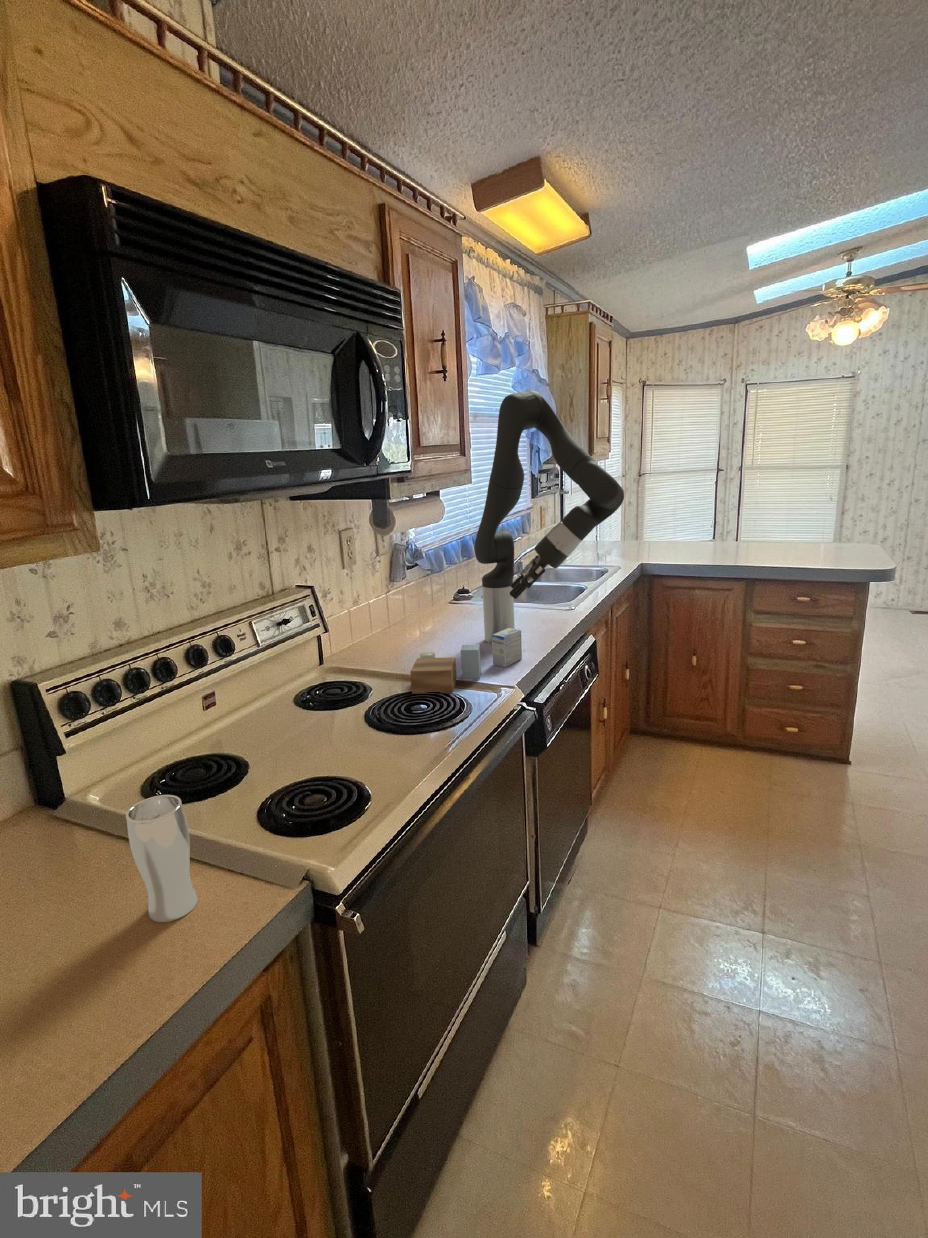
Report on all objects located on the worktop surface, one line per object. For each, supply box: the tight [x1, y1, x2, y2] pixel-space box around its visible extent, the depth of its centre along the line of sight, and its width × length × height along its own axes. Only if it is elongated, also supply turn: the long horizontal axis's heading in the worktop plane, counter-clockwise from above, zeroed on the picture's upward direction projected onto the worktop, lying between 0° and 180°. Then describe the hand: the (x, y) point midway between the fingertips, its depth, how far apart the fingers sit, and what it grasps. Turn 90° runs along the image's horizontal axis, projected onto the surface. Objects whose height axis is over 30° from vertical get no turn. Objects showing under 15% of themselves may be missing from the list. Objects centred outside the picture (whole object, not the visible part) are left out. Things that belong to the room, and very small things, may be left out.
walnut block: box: [409, 656, 458, 695], centre depth 163 cm, size 10×10×6 cm
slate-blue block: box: [460, 644, 482, 680], centre depth 167 cm, size 4×4×8 cm
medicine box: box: [491, 628, 523, 668], centre depth 177 cm, size 8×4×9 cm, turn 141°
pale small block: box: [419, 651, 436, 658], centre depth 173 cm, size 4×4×5 cm
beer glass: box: [125, 794, 198, 923], centre depth 85 cm, size 7×7×15 cm
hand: (512, 592), depth 161 cm, fingers open, 8 cm apart
